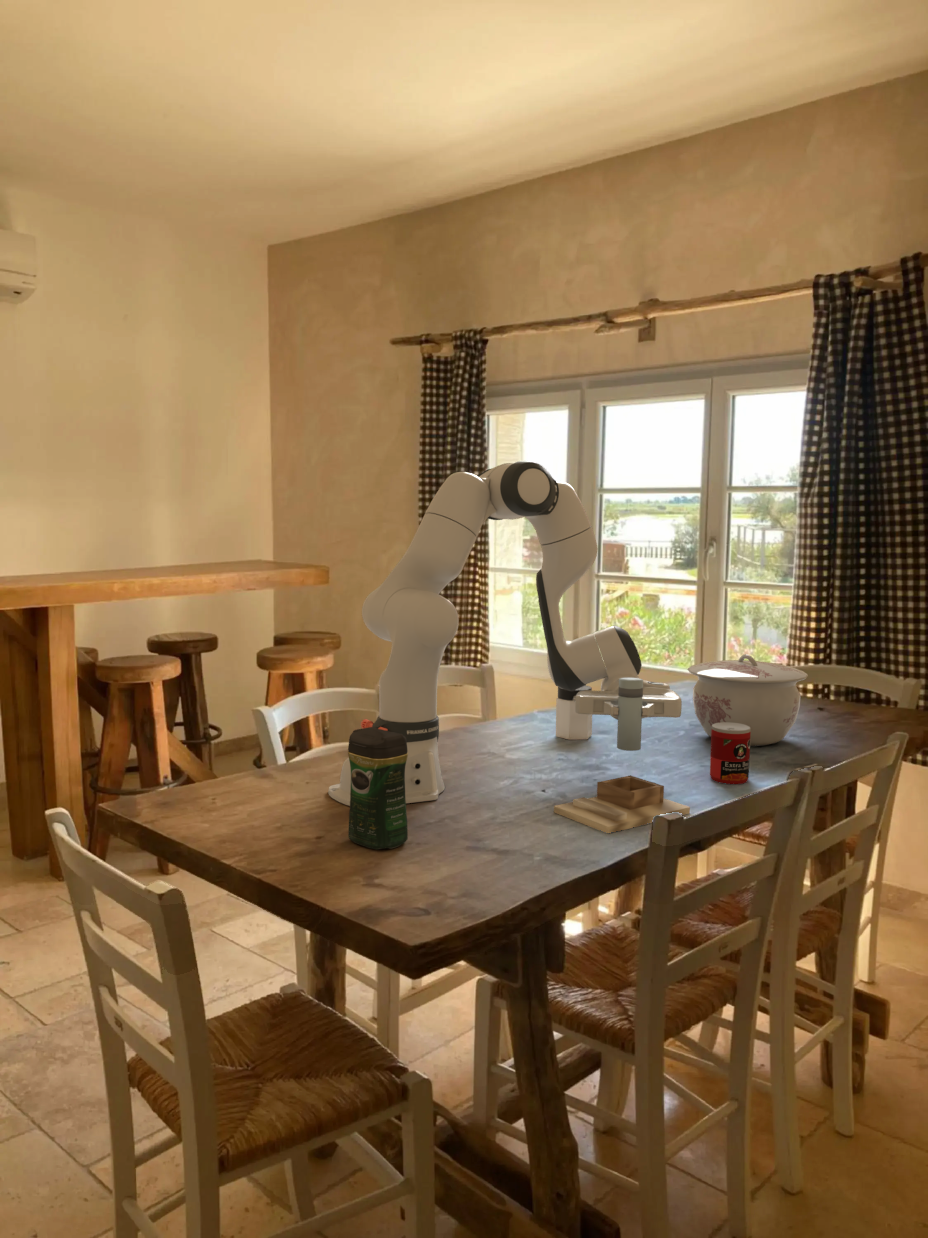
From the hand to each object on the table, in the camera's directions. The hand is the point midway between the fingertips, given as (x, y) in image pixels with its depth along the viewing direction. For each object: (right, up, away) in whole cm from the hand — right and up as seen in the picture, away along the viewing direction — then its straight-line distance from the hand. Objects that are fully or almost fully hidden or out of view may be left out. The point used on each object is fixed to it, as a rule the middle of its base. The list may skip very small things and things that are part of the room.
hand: (630, 712), depth 180 cm
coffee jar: (-45, -19, -23) cm, 54 cm away
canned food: (+23, -15, +16) cm, 32 cm away
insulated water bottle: (0, -7, +2) cm, 7 cm away
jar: (-5, -11, +53) cm, 55 cm away
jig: (-3, -18, -6) cm, 19 cm away
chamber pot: (+36, -12, +51) cm, 64 cm away
